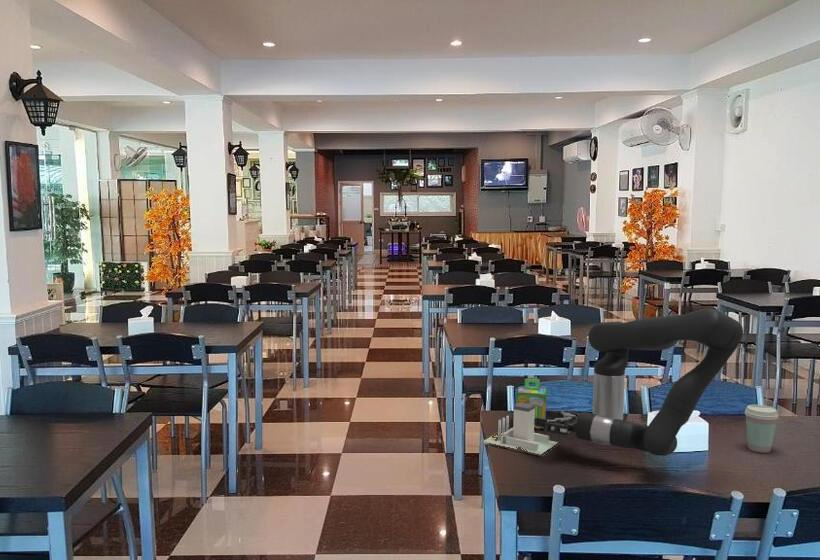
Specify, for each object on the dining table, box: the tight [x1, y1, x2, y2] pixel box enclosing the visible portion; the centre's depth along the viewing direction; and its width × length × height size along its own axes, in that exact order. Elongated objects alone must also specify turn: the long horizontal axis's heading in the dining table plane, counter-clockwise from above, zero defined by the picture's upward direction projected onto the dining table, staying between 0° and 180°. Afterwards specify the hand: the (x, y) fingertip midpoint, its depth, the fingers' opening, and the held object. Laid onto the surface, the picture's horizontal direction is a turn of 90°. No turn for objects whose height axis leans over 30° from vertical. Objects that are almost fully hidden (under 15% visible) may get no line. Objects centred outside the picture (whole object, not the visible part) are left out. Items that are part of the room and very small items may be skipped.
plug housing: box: [512, 402, 535, 442], centre depth 192 cm, size 4×4×11 cm
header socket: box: [482, 415, 559, 455], centre depth 193 cm, size 12×18×7 cm, turn 55°
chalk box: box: [515, 378, 548, 428], centre depth 210 cm, size 9×9×15 cm
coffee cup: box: [744, 404, 779, 454], centre depth 190 cm, size 9×8×12 cm
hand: (541, 417), depth 189 cm, fingers open, 8 cm apart
